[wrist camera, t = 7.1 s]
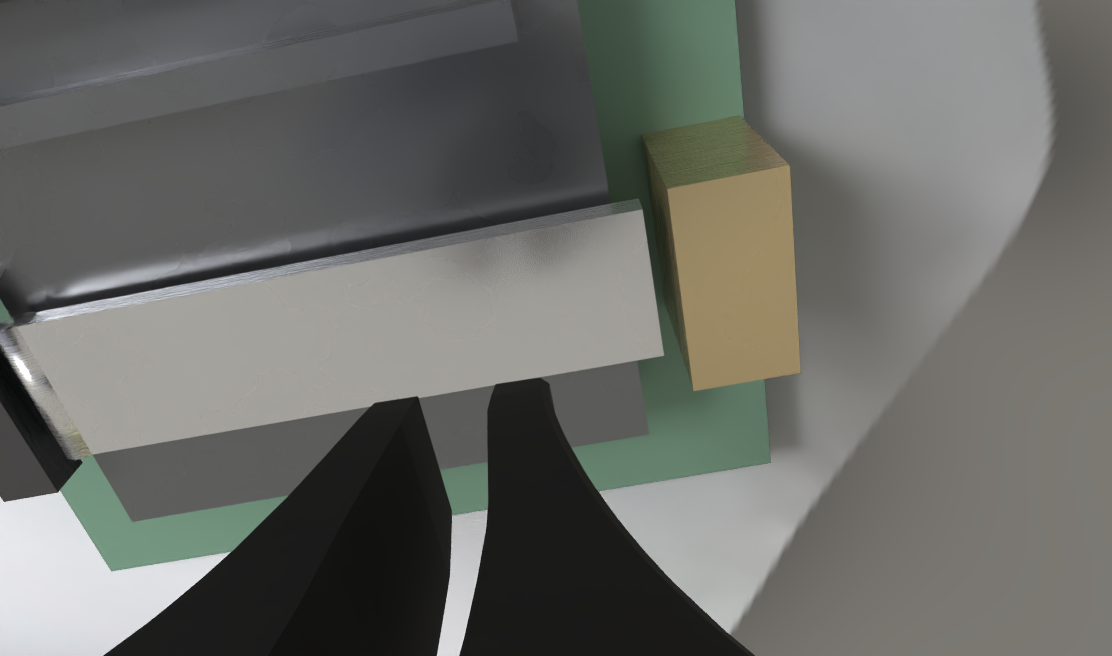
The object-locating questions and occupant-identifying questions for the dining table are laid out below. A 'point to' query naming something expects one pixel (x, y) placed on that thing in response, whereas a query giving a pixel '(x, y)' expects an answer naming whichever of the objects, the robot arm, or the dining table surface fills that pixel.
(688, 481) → the dining table surface
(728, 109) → the circuit board
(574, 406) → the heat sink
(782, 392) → the dining table surface
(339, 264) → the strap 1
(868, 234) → the dining table surface
